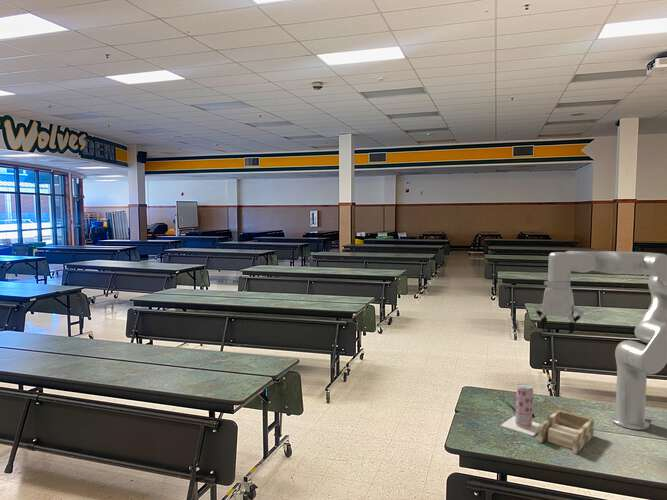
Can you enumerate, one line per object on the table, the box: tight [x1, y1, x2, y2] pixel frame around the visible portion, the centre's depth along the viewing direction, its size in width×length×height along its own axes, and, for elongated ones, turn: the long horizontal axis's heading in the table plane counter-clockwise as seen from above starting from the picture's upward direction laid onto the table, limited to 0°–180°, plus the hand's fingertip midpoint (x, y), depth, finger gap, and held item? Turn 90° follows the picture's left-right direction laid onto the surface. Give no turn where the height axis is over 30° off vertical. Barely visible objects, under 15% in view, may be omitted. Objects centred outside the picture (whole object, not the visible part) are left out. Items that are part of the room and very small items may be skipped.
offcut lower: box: [547, 436, 573, 450], centre depth 164 cm, size 6×8×2 cm
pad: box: [500, 415, 541, 438], centre depth 176 cm, size 12×12×1 cm
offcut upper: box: [548, 424, 578, 443], centre depth 163 cm, size 6×8×2 cm
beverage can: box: [515, 383, 534, 428], centre depth 176 cm, size 6×6×15 cm
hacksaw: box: [506, 401, 536, 418], centre depth 196 cm, size 24×10×2 cm, turn 1°
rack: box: [537, 409, 595, 455], centre depth 166 cm, size 19×12×6 cm, turn 136°
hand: (557, 330), depth 176 cm, fingers open, 9 cm apart
